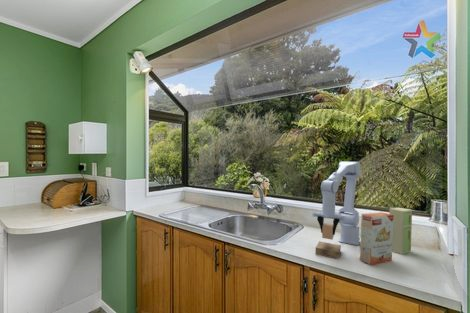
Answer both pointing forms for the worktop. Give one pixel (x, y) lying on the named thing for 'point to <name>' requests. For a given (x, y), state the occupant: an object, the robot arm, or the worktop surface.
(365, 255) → the cracker box
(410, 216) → the toy refrigerator
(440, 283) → the worktop surface
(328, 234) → the tan block
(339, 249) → the walnut block
